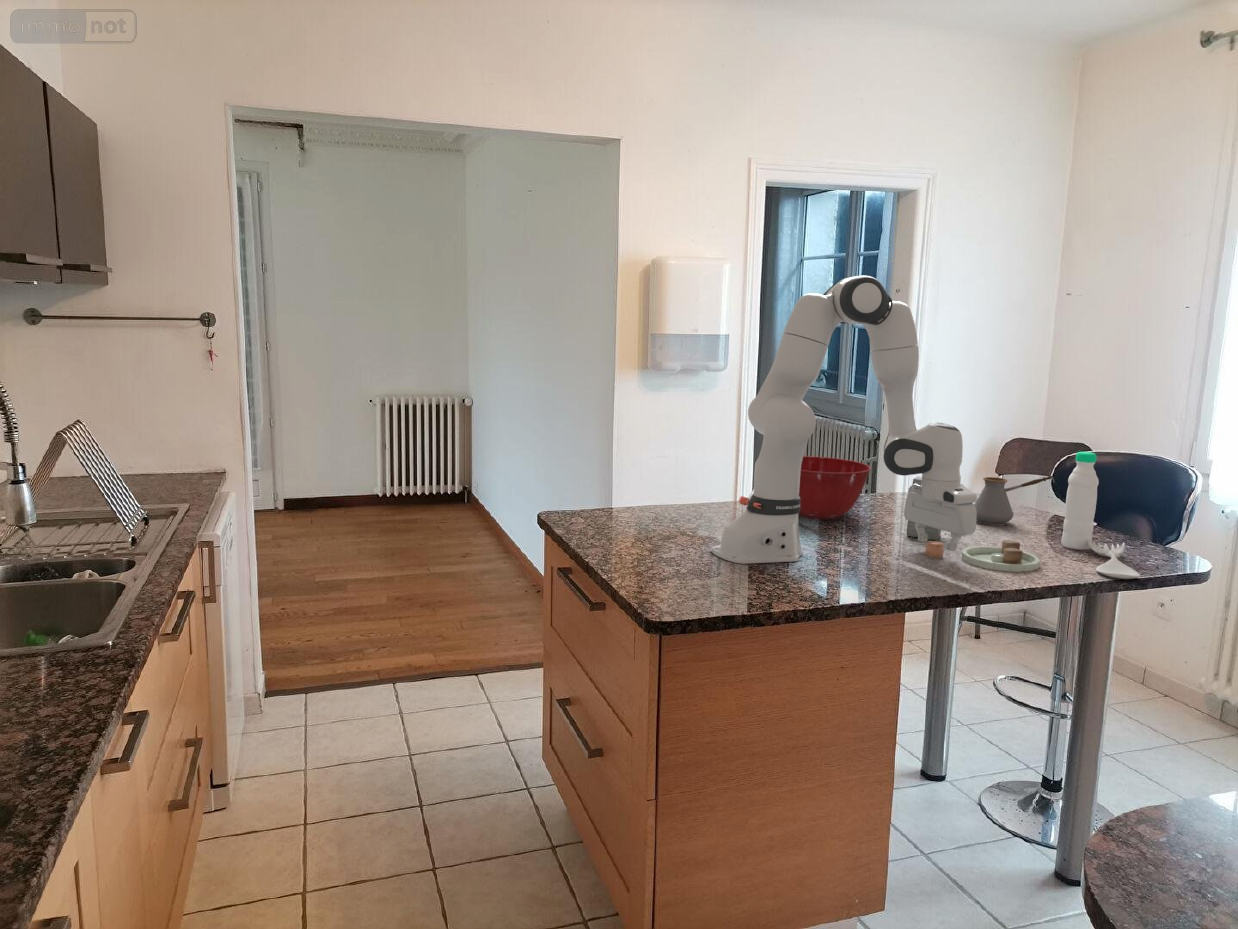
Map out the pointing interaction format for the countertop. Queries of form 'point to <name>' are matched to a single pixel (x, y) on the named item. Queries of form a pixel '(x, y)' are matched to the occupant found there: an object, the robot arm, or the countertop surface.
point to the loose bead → (934, 549)
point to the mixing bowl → (830, 486)
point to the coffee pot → (997, 501)
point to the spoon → (1113, 562)
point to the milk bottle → (1080, 503)
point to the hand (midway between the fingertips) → (936, 545)
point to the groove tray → (997, 559)
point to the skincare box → (932, 532)
